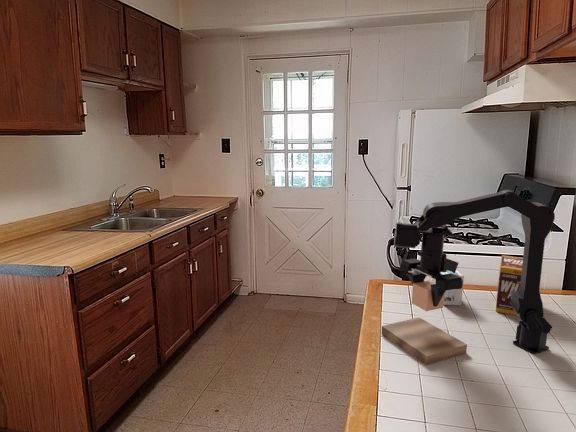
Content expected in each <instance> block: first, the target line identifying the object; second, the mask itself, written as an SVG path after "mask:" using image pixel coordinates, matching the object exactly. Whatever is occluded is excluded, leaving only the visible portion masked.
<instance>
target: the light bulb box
mask: <svg viewBox="0 0 576 432" xmlns="http://www.w3.org/2000/svg"><path fill="white" fill-rule="evenodd" d="M450 273H452V274H454V275H456V276H459V277H461V278H462V280H463V282H464V281H465V279H464V278H465V276H464V274H463V273H461V272H460V271H459V270H457V269H456V272H455V273H453V272H452V271H449V270H447V272H441V273H440V274H442V275H444V274H450ZM433 282H434V283H435V282H436V279H434V278H433ZM463 289H464V285H463V286H462V288H458V289H453V290H446V292H445V293H444V302H443V306H462V300H463V291H464V290H463Z"/></svg>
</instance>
